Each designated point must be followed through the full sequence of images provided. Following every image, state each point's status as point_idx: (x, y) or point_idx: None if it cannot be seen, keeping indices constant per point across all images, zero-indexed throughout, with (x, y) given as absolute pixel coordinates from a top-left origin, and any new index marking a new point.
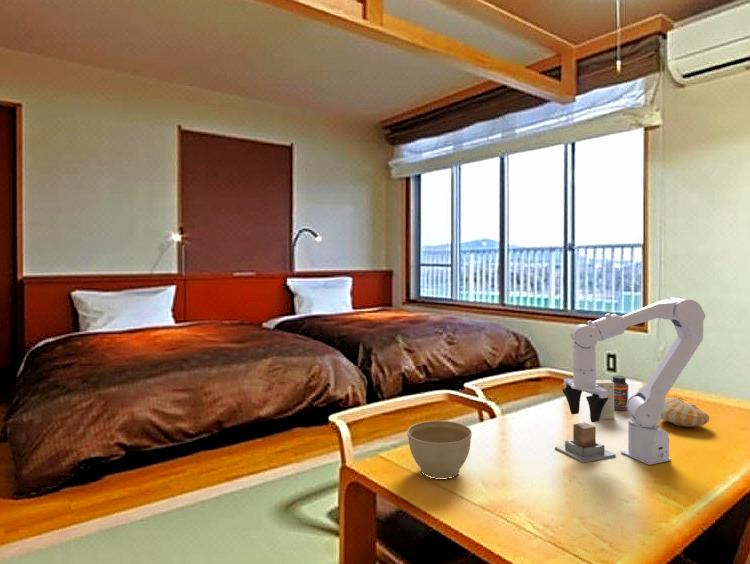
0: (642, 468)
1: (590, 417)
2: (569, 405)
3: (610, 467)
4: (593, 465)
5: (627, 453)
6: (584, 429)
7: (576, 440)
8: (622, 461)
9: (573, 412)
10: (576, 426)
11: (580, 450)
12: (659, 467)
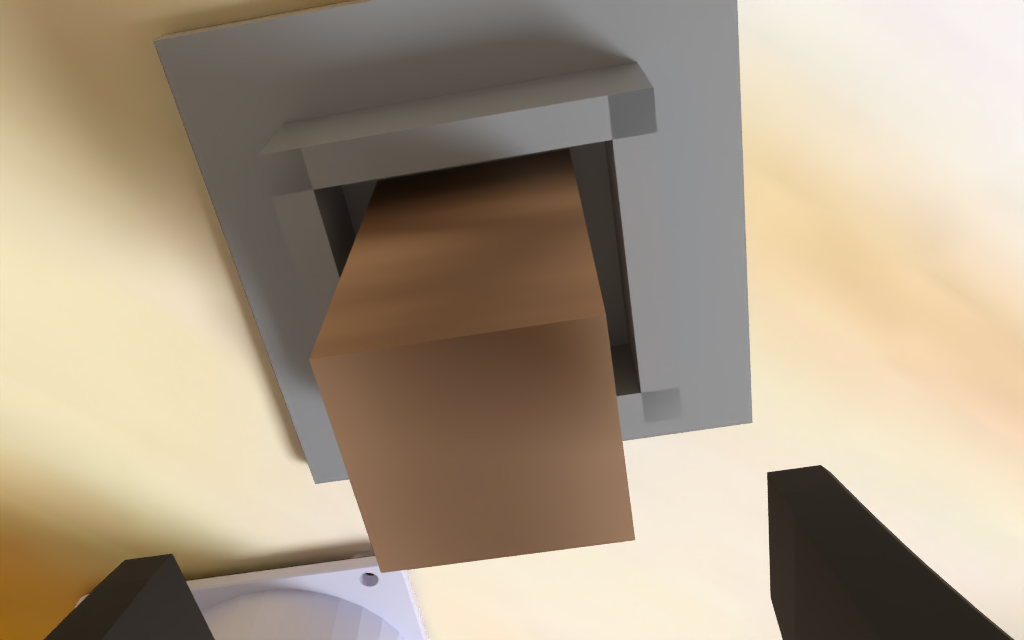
0: (17, 518)
1: (114, 620)
2: (935, 601)
3: (32, 272)
4: (90, 124)
5: (324, 581)
6: (316, 364)
7: (509, 209)
8: (194, 459)
9: (784, 523)
10: (511, 319)
11: (325, 134)
12: (45, 634)
